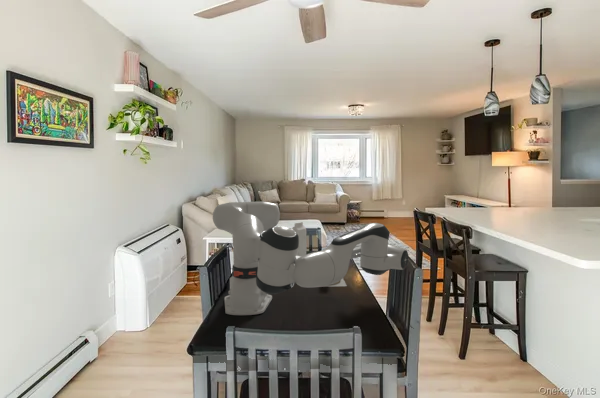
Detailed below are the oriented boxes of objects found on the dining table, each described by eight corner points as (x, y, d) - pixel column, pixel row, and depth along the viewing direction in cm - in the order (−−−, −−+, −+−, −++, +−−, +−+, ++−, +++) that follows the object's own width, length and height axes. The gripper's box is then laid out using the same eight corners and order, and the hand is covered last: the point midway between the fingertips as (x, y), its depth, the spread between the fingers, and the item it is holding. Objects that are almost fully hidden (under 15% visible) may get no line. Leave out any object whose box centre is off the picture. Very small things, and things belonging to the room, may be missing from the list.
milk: (306, 262, 195) (306, 222, 192) (298, 264, 190) (298, 224, 188) (299, 260, 199) (299, 221, 197) (290, 262, 195) (290, 222, 193)
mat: (346, 287, 156) (346, 286, 156) (308, 287, 155) (308, 286, 155) (340, 274, 174) (340, 273, 174) (305, 275, 173) (305, 274, 173)
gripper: (353, 264, 136) (328, 257, 147) (386, 255, 150) (361, 249, 160) (353, 248, 136) (328, 242, 146) (386, 240, 149) (361, 235, 159)
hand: (345, 245), depth 153 cm, fingers open, 8 cm apart
